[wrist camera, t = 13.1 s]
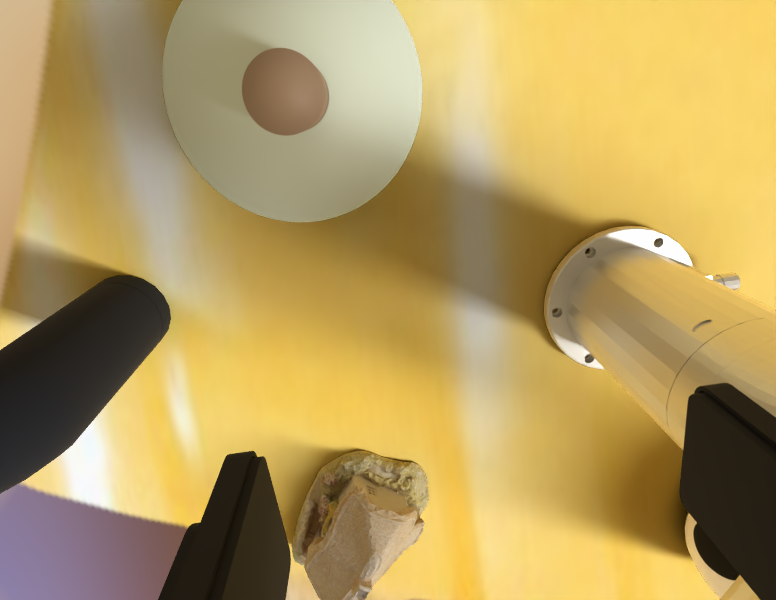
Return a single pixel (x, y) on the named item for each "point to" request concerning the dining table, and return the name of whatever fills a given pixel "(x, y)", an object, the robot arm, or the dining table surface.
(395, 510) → the ceramic model
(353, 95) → the lid
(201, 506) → the dining table surface
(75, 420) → the black water bottle
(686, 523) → the milk container
